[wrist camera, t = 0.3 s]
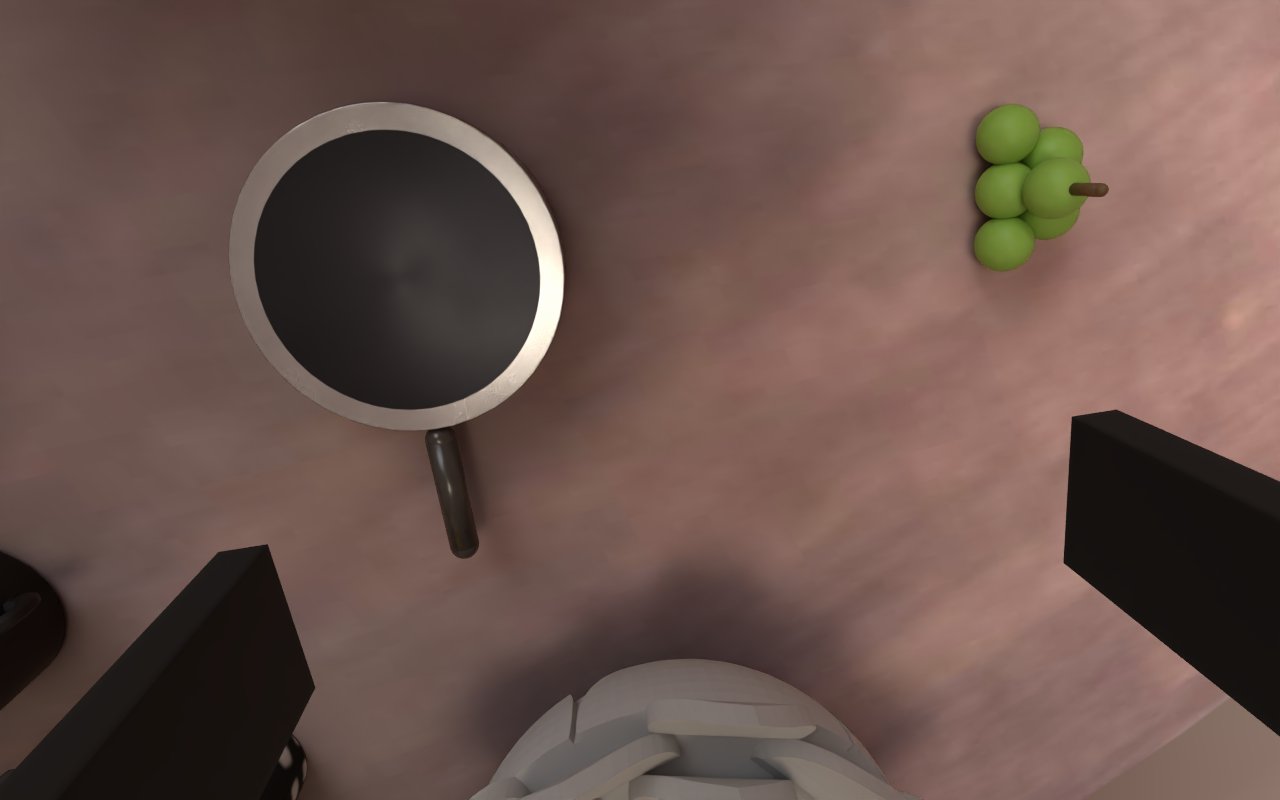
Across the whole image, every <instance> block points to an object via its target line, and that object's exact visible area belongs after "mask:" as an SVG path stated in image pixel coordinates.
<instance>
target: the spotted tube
mask: <svg viewBox="0 0 1280 800" xmlns="http://www.w3.org/2000/svg"><path fill="white" fill-rule="evenodd" d="M306 772H307V764H306V758H305V755H304V752H303V750H302V748H301V746H300V745H299V743H298V742H297V740H296V739H295V738H294V737H293V736H292V735H291V737H290V739H289V741H288V743H287V745H286V747H285V749H284V751H283V753H282V755H281V757H280V759H279V761H278V763H277V765H276V767H275V769H274V771H273V773H272V775H271V777H270V779H269V781H268V783H267V785H266V787H265V789H264V791H263V793H262V795H261V797H260V799H259V800H297V798H298V795H299V793H300V791H301V789H302V786H303V784H304V781H305V778H306Z"/></svg>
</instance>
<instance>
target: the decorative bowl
mask: <svg viewBox="0 0 1280 800" xmlns="http://www.w3.org/2000/svg"><path fill="white" fill-rule="evenodd" d="M469 800H922V799H920V798H918V797H916V796H914V795H912V794H909V793H906V792H902V791H897V790H895V789H894V788H892V787H891V786H890V784H889V782H888V781H887V779H886V777H885V776H884V774H883V772H882V771H881V769H880V768H879V767H878V765H877V764H876V762H875V761H874V760H873V758H872V757H871V755H870V754H869V753H868V751H867V750H866V748H865V747H864V746H863V745H862V744H861V743H860V742H859V741H858V739H857V738H856V737H855V736H854V735H853V734H852V733H851V731H850V730H849V729H848V728H847V727H846V726H845V725H844V724H843V723H842V722H840V721H839V720H838V719H837V718H836V717H835V716H834V715H833V714H832V713H830V712H829V711H828V710H826V709H825V708H824V707H823V706H822V705H821V704H819V703H818V702H816V701H815V700H814V699H812V698H811V697H809V696H808V695H806V694H805V693H803V692H802V691H800V690H798V689H796V688H795V687H793V686H791V685H789V684H787V683H785V682H783V681H781V680H779V679H777V678H775V677H773V676H770V675H768V674H765V673H763V672H760V671H757V670H754V669H751V668H747V667H744V666H740V665H737V664H732V663H727V662H722V661H715V660H705V659H672V660H662V661H655V662H649V663H644V664H640V665H636V666H632V667H628V668H625V669H621V670H618V671H615V672H613V673H611V674H609V675H607V676H605V677H603V678H602V679H601V680H599V681H598V682H597V683H595V684H594V685H593V686H592V687H591V688H590V689H589V691H588V692H587V693H586V695H585V696H583V697H581V698H580V699H578V700H577V701H574V699H573V697H572V696H571V695H568V696H567V697H565V698H564V699H563V700H561V701H560V702H559V703H557V704H556V705H555V706H553V707H552V708H551V709H550V710H548V711H547V712H546V713H545V714H544V715H542V716H541V717H540V718H539V719H538V720H537V721H536V722H535V723H534V724H533V725H532V726H531V727H530V728H529V729H528V730H527V731H526V732H525V733H524V735H523V736H522V737H521V738H520V739H519V740H518V741H517V743H516V744H515V745H514V747H513V748H512V749H511V751H510V752H509V753H508V755H507V756H506V757H505V759H504V760H503V761H502V763H501V764H500V766H499V768H498V769H497V771H496V772H495V774H494V776H493V777H492V779H491V781H490V783H489V784H488V786H487V787H485V788H483V789H482V790H480V791H479V792H478V793H476V794H475V795H474V796H473V797H471V798H470V799H469Z"/></svg>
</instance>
